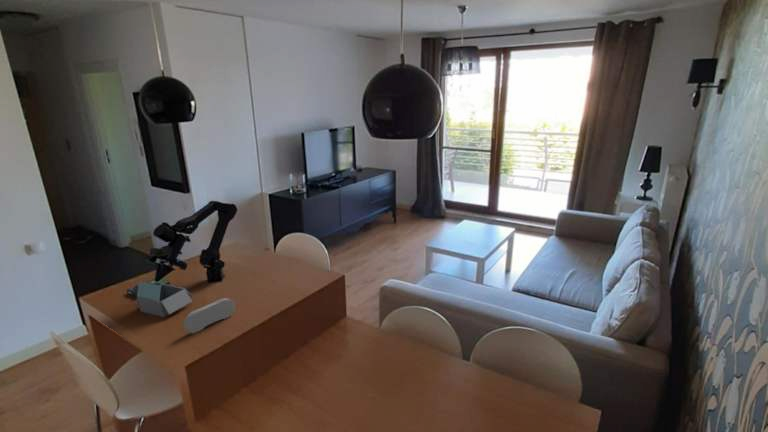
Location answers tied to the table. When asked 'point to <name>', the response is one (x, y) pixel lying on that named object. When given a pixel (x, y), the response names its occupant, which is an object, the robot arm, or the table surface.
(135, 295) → the disk drive
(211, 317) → the grey rounded flat bar
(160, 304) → the grey open storage bin
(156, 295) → the flap
